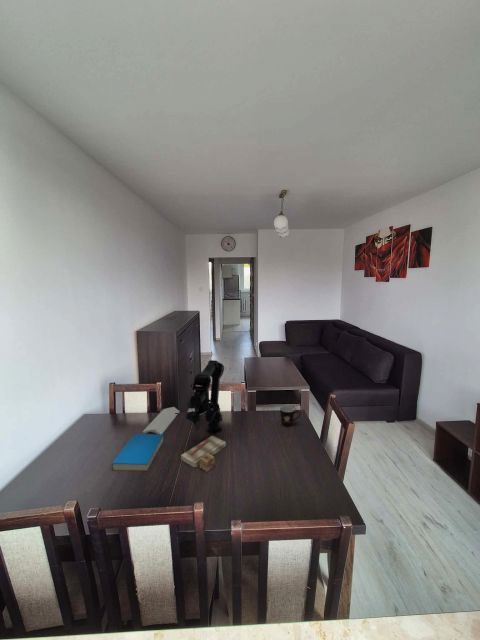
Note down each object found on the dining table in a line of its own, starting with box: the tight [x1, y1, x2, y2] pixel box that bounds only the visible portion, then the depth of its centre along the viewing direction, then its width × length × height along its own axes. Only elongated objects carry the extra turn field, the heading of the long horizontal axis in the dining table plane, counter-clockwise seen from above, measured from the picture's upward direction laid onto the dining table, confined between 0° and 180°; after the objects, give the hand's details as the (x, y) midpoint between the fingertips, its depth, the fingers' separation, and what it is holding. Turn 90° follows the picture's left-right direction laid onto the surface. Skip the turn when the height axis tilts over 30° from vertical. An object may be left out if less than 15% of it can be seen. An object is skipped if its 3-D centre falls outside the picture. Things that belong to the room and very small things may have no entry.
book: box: [111, 433, 164, 472], centre depth 142 cm, size 17×4×25 cm
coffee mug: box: [279, 405, 301, 428], centre depth 168 cm, size 12×9×10 cm
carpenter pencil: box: [190, 439, 209, 455], centre depth 142 cm, size 14×1×1 cm, turn 149°
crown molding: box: [141, 406, 181, 435], centre depth 174 cm, size 29×12×4 cm, turn 172°
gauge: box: [199, 453, 216, 473], centre depth 131 cm, size 5×5×6 cm
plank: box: [180, 435, 227, 468], centre depth 142 cm, size 22×10×2 cm, turn 141°
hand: (203, 426), depth 145 cm, fingers open, 9 cm apart
